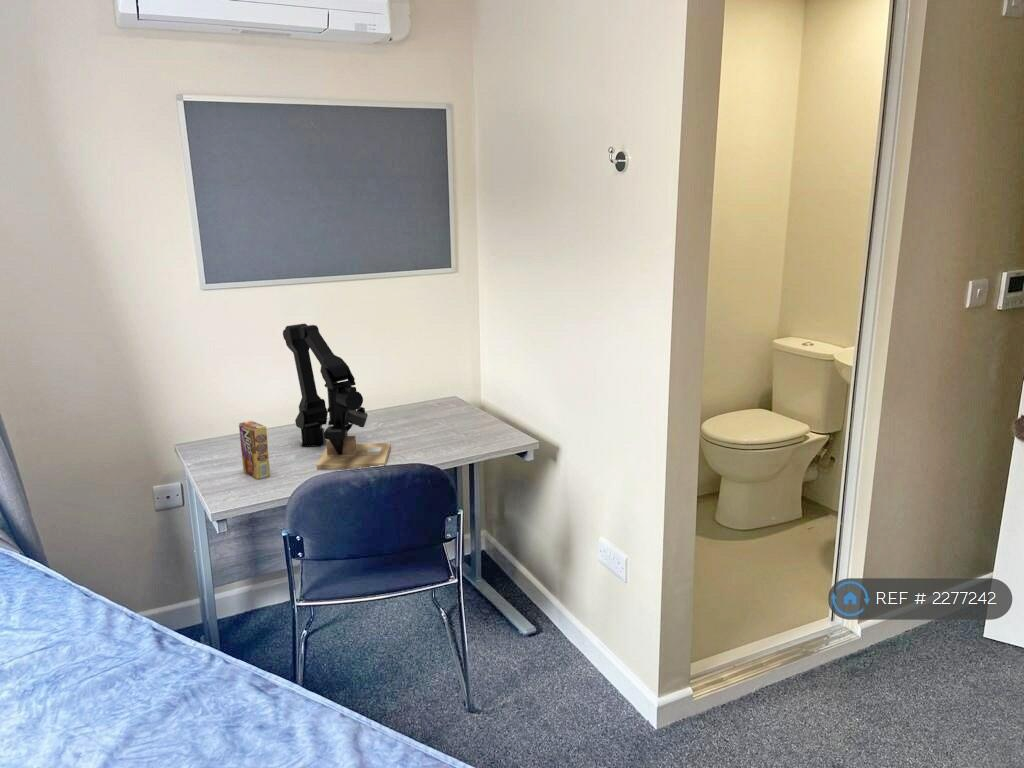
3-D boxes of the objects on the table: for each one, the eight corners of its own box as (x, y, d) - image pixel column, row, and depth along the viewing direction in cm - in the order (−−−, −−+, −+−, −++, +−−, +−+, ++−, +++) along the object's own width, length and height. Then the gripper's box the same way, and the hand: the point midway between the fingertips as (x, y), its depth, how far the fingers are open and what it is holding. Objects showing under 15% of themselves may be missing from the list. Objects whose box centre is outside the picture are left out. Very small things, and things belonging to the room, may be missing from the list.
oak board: (316, 469, 223) (316, 464, 223) (328, 449, 240) (327, 444, 240) (384, 467, 224) (384, 463, 224) (390, 447, 241) (390, 443, 241)
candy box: (271, 475, 219) (266, 426, 215) (258, 479, 216) (252, 429, 212) (256, 468, 225) (251, 419, 221) (243, 472, 222) (237, 423, 218)
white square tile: (367, 455, 230) (366, 451, 230) (368, 451, 234) (368, 447, 234) (380, 455, 230) (380, 451, 230) (381, 450, 234) (381, 447, 234)
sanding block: (327, 456, 229) (326, 441, 228) (330, 451, 234) (329, 436, 233) (353, 456, 229) (352, 441, 228) (356, 450, 234) (355, 435, 233)
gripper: (360, 411, 219) (363, 461, 223) (368, 394, 237) (371, 440, 241) (321, 412, 218) (326, 462, 222) (333, 395, 236) (336, 441, 240)
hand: (341, 451), depth 231 cm, fingers closed on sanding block, 5 cm apart
